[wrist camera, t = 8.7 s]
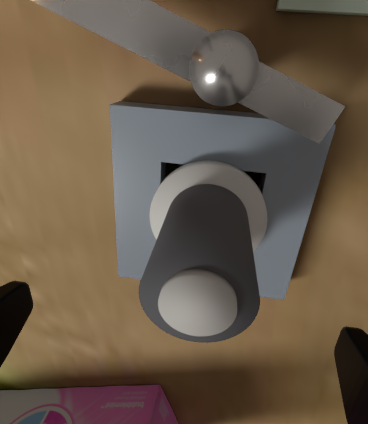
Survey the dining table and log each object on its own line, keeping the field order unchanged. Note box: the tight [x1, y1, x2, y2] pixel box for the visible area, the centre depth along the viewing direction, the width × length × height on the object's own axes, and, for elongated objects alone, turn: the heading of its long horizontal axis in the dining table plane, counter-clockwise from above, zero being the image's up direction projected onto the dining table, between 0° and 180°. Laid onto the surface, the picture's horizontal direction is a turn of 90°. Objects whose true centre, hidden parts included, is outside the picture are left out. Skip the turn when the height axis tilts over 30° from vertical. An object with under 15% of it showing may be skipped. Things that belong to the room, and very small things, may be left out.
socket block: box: [110, 101, 336, 300], centre depth 17 cm, size 11×11×2 cm
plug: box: [139, 160, 267, 342], centre depth 14 cm, size 6×6×9 cm
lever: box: [31, 0, 345, 144], centre depth 12 cm, size 3×15×6 cm, turn 66°
